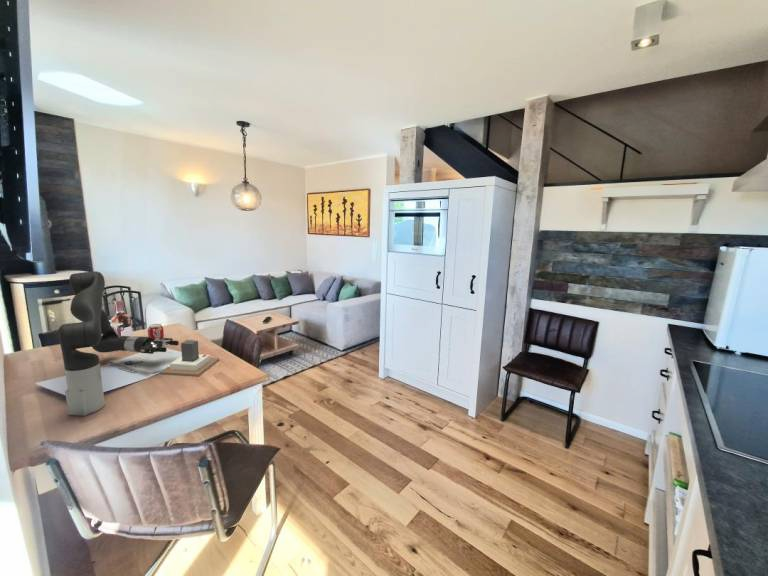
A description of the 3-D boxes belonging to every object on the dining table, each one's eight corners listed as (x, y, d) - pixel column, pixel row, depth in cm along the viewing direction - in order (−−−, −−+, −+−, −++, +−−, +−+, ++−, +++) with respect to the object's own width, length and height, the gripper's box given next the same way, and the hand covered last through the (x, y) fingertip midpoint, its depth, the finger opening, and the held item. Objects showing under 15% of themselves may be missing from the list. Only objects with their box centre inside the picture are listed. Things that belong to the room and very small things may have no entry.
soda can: (167, 344, 181) (166, 324, 179) (157, 348, 174) (156, 327, 172) (156, 343, 182) (154, 323, 179) (145, 347, 175) (143, 326, 172)
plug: (193, 367, 153) (192, 344, 151) (182, 366, 153) (181, 343, 151) (199, 363, 158) (197, 340, 155) (188, 362, 158) (187, 340, 155)
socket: (198, 376, 147) (197, 367, 146) (159, 374, 147) (159, 365, 146) (219, 360, 164) (218, 352, 164) (184, 358, 165) (184, 350, 164)
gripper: (126, 342, 146) (161, 344, 146) (149, 332, 160) (181, 334, 160) (128, 357, 148) (162, 359, 148) (150, 346, 162) (182, 348, 162)
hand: (172, 346), depth 154 cm, fingers open, 8 cm apart
